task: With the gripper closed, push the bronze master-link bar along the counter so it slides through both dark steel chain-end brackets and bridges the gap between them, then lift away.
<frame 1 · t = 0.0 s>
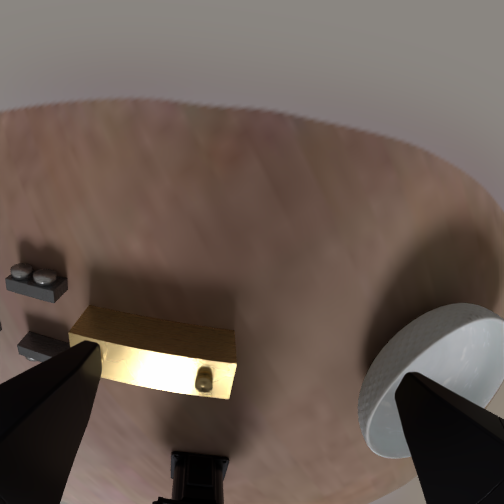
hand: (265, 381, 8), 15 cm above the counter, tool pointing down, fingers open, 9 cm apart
master link: (158, 335, 24), on the counter
chain ends: (9, 301, 22), on the counter
cereal bowl: (415, 356, 27), on the counter
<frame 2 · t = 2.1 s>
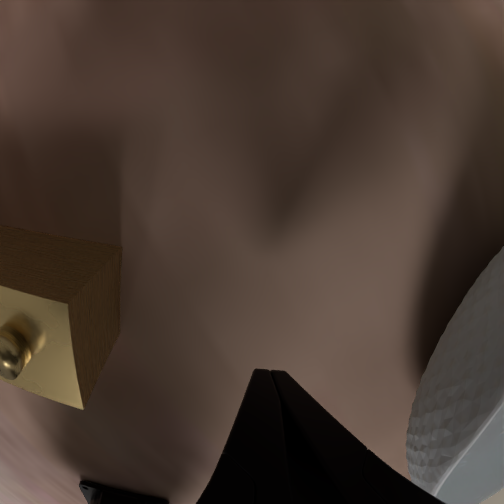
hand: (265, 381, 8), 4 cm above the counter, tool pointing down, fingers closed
master link: (0, 262, 10), on the counter
cereal bowl: (492, 328, 13), on the counter
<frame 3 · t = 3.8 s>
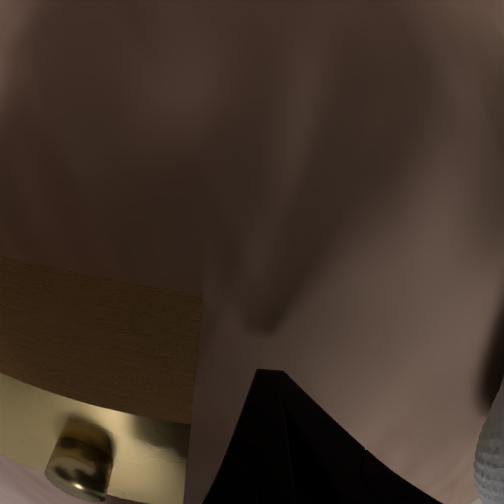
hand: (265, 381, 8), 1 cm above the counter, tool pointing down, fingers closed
master link: (22, 309, 8), on the counter, touching gripper
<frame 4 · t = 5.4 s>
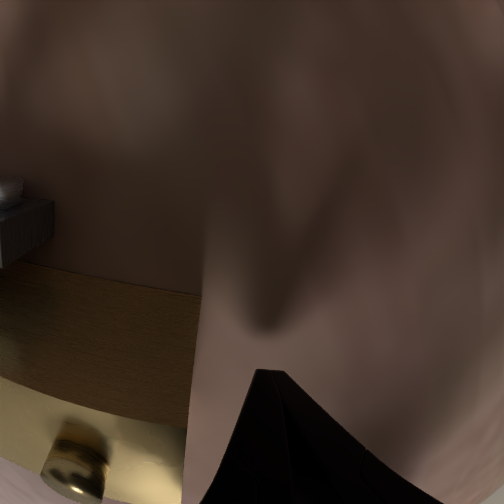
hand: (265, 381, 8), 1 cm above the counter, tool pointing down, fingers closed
master link: (20, 309, 8), on the counter, touching gripper
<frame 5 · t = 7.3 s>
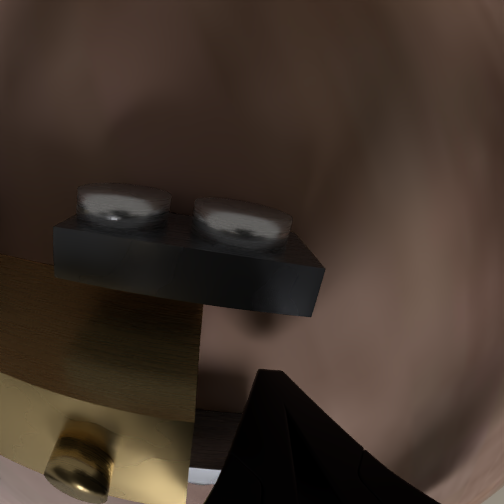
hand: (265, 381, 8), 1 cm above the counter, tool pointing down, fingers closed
master link: (21, 307, 8), on the counter, touching chain ends, gripper
chain ends: (43, 315, 8), on the counter
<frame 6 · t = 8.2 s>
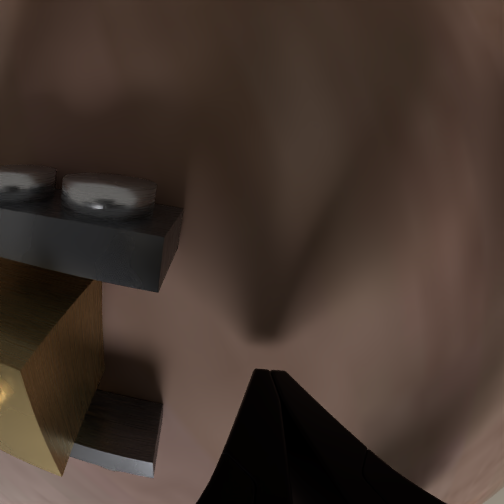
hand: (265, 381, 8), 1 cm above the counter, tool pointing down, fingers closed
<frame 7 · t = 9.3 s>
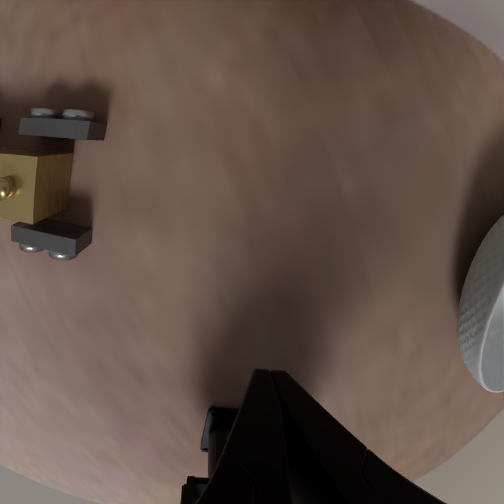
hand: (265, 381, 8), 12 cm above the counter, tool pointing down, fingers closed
master link: (6, 171, 16), on the counter
chain ends: (13, 173, 16), on the counter
cereal bowl: (495, 274, 22), on the counter
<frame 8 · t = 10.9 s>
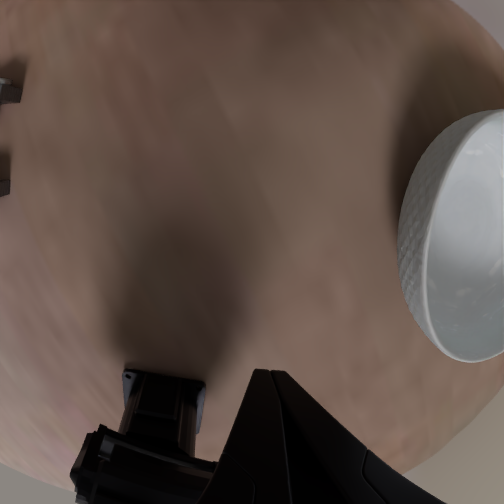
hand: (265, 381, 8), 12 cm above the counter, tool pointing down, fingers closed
cereal bowl: (456, 219, 20), on the counter
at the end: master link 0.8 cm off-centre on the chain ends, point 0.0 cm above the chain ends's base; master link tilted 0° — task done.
